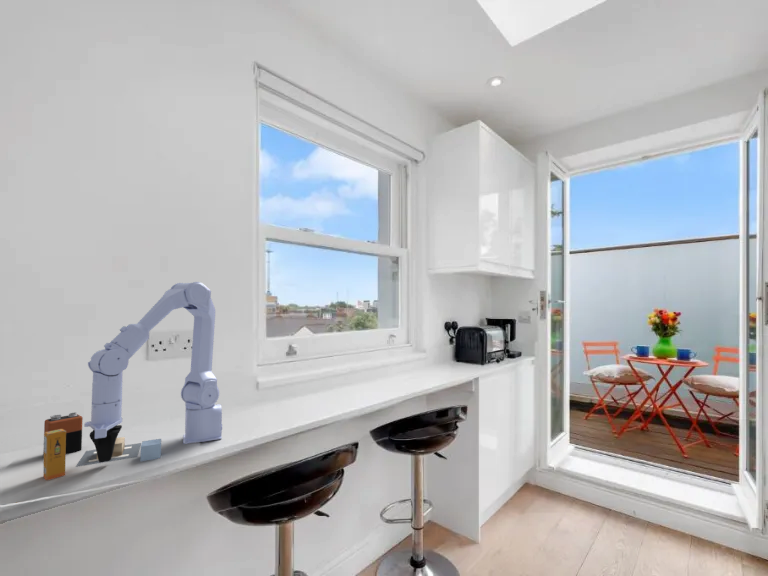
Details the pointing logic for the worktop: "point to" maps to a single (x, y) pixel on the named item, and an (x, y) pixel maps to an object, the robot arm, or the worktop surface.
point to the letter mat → (128, 452)
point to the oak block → (118, 447)
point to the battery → (67, 430)
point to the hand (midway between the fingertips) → (105, 460)
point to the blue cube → (150, 449)
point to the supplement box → (54, 454)
